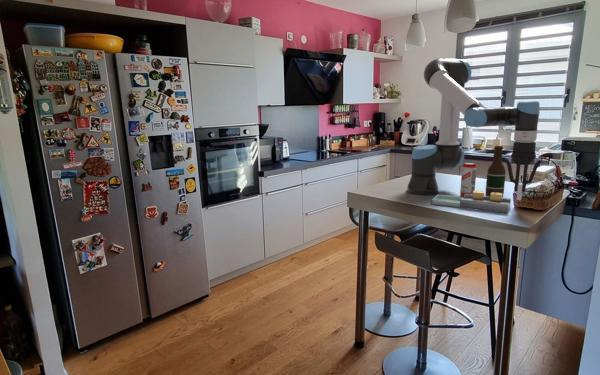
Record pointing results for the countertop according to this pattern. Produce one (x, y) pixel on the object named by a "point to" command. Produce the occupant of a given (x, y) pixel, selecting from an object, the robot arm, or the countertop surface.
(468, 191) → the white red canister
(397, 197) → the countertop surface
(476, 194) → the chip back
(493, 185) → the beer bottle
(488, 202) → the slot board
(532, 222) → the countertop surface
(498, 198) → the chip front
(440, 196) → the tray
